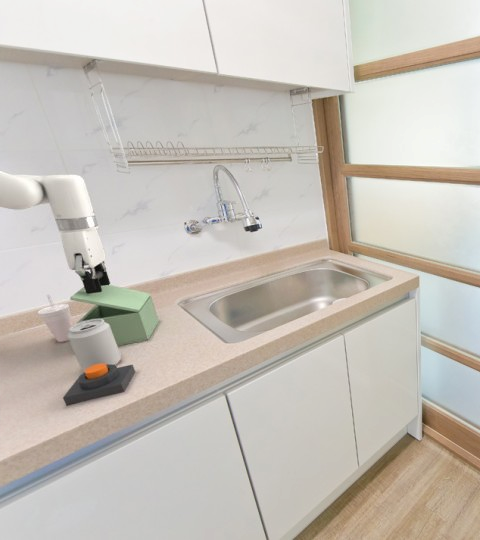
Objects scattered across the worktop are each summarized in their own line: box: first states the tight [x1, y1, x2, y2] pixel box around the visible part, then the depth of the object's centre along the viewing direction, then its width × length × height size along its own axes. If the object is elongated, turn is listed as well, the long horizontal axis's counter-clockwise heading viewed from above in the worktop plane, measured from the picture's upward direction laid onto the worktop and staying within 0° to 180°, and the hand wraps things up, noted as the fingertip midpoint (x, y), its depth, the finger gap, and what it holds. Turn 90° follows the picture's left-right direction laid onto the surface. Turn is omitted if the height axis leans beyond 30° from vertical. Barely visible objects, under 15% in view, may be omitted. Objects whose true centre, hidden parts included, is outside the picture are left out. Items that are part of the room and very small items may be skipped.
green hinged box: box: [75, 295, 160, 347], centre depth 96 cm, size 14×13×9 cm
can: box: [68, 319, 122, 373], centre depth 81 cm, size 8×8×12 cm
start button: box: [84, 363, 108, 379], centre depth 73 cm, size 4×4×2 cm
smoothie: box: [37, 294, 73, 343], centre depth 94 cm, size 6×6×14 cm
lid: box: [69, 271, 152, 312], centre depth 93 cm, size 14×13×6 cm
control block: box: [62, 364, 136, 407], centre depth 74 cm, size 10×8×4 cm
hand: (98, 288), depth 91 cm, fingers closed on lid, 5 cm apart
